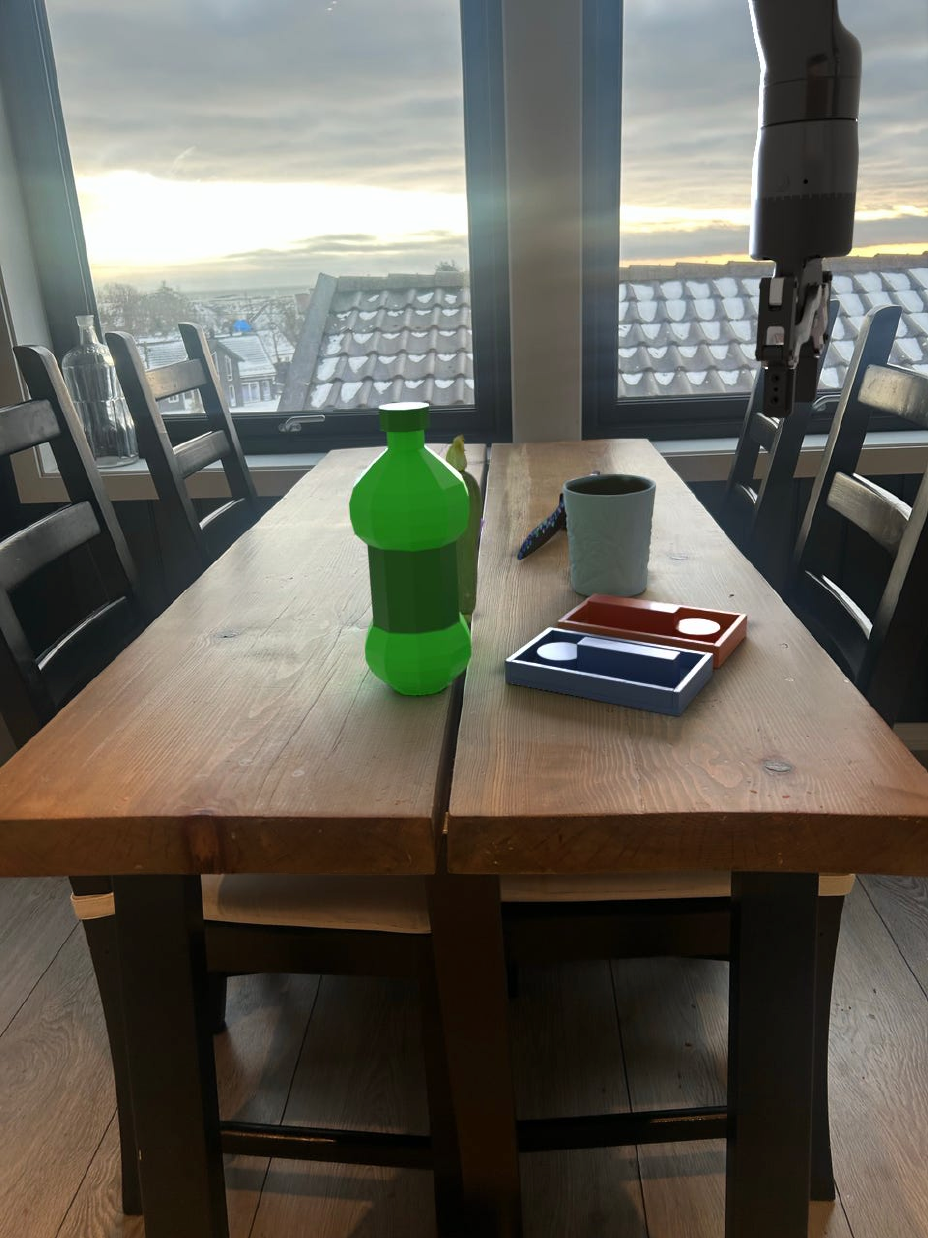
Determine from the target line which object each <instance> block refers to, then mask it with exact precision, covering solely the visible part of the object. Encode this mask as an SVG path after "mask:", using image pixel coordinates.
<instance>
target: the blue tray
mask: <svg viewBox="0 0 928 1238" xmlns="http://www.w3.org/2000/svg"><path fill="white" fill-rule="evenodd" d="M585 637H590V638H596V639H602V640H608V641H614V642H621V643H627V644H633V645H639V646H645V647H651V648H658V649H664V650H670V651H676V652H681V663H680V682H679V683H678V684H677V685H676V686H675V687H674V688H673V689H672V688H667V687H661V686H656V685H650V684H645V683H639V682H634V681H628V680H623V679H617V678H612V677H606V676H601V675H595V674H590V673H584V672H579V671H573V670H568V669H562V668H557V667H551V666H546V665H540V664H537V650H538V649H539V648H540V647H541V646H543V645H546V644H550V643H561V642H562V643H572V644H576V645H577V644H578V643H579V642H580V641H581V640H582V639H584V638H585ZM713 669H714V668H713V654H712V653H706V652H699V651H693V650H687V649H681V648H675V647H668V646H662V645H656V644H650V643H644V642H637V641H631V640H625V639H619V638H612V637H606V636H600V635H594V634H588V633H581V632H575V631H569V630H563V629H558V628H556V627H548V628H546V629H545V630H544V631H542V632H541V633H540V634H538V635H537V636H536V637H534V638H533V639H532V640H530V641H529V642H528V643H526V644H525V645H523V646H522V647H521V648H520V649H519V650H517V651H515V652H514V653H513V654H511V655H510V656H509V657H508V658H506V659H505V660H504V677H505V678H504V680H505V684H509V683H513V684H512V685H514V684H517V685H516V686H519V685H522V686H521V687H524V686H529V687H534V688H533V689H535V688H539V689H538V690H540V689H544V690H543V691H545V690H549V691H548V692H550V691H554V692H553V693H555V692H559V693H558V694H560V693H565V694H570V695H573V696H572V697H576V696H579V697H578V698H581V697H584V698H583V699H586V698H588V699H587V700H591V699H593V700H592V701H596V700H597V702H602V703H606V704H613V705H618V706H621V707H627V708H631V709H632V708H633V709H637V710H643V711H647V712H648V711H649V712H653V713H656V714H657V713H658V714H662V715H668V716H673V717H680V715H681V714H682V713H683V712H684V711H685V709H687V707H688V705H689V704H690V703H691V702H692V701H693V700H694V699H695V697H696V696H697V695H698V694H699V693H700V691H702V689H703V688H704V687H705V686H706V684H707V683H708V682H709V681H710V680H711V678H712V677H713V672H714V671H713ZM518 684H519V685H518ZM529 687H528V688H529ZM565 694H564V695H565ZM570 695H569V696H570Z"/></svg>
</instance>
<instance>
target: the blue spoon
mask: <svg viewBox="0 0 928 1238" xmlns="http://www.w3.org/2000/svg"><path fill="white" fill-rule="evenodd" d="M680 663H681V652H676V651H670V650H664V649H658V648H651V647H645V646H639V645H633V644H627V643H621V642H614V641H608V640H602V639H596V638H590V637H585V638H584V639H582V640H581V641H580V642H579V643H578V644H577V645H576V644H572V643H562V642H561V643H550V644H546V645H543V646H541V647H540V648H539V649H538V650H537V664H540V665H546V666H551V667H557V668H562V669H568V670H573V671H579V672H584V673H590V674H595V675H601V676H606V677H612V678H617V679H623V680H628V681H634V682H639V683H645V684H650V685H656V686H661V687H667V688H672V689H673V688H674V687H675V686H676V685H677V684H678V683H679V682H680Z"/></svg>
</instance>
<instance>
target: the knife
mask: <svg viewBox="0 0 928 1238" xmlns="http://www.w3.org/2000/svg"><path fill="white" fill-rule="evenodd" d="M600 474H601V472H600V470H593V471H592V472H591V473H590V474H589V475H588V476H590V475H600ZM558 495H559V497H558V506H557V507H556V509H555V510H554V511H553V512H552V514H550V515H549V516H548V517H547V518H546V519H545V520H544V521H542V522H541V523H540V524H538V525H537V526H536V527H535V528H534V529H532V530H531V532H530V533H529V534H528V535H527V537H526V538H525V540H523V543H522V545H521V547H520V549H519V552H518V554H517V556H516V559H517V560H518V561H521V560H525V559H526V558H528V557H529V556H531V555H533V553H535V552H537V551H538V550H539V549H541V547H543V546H544V545H545V544H546V543H548V541H550V540H551V539H552V537H554V536H555V535H556V534H557V533H558V532H559V531H560V530H561V529H562V527H567V521H566V518H567V514H566V511H565V504H564V495H563V492H560V493H559V494H558Z"/></svg>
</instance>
